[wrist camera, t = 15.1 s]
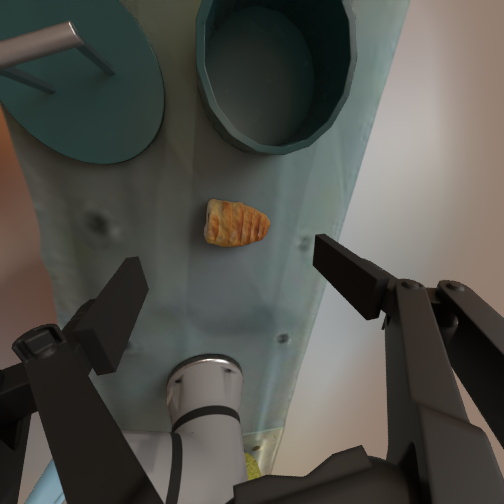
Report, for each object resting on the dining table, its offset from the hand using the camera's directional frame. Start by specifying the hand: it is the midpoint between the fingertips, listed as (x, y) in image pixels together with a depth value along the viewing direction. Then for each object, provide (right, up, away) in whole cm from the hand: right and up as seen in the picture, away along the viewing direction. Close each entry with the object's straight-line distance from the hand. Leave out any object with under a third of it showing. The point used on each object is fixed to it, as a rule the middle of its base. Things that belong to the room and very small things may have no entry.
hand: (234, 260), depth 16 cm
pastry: (-2, +5, +15) cm, 16 cm away
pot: (+2, +20, +9) cm, 22 cm away
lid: (-16, +18, +5) cm, 24 cm away
